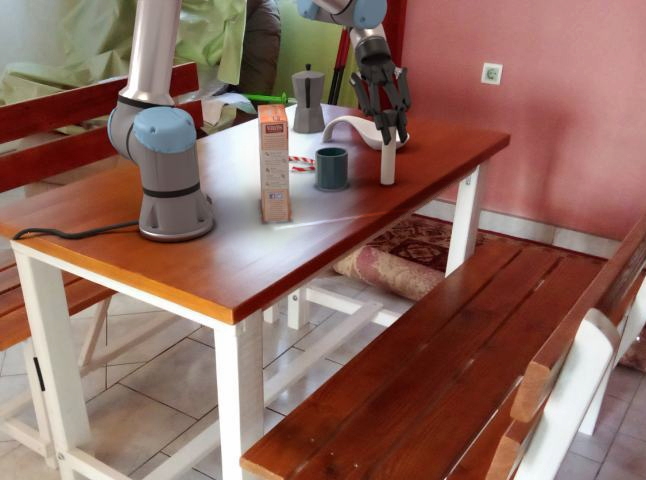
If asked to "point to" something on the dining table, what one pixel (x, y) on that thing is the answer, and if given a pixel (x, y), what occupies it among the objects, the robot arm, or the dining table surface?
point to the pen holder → (331, 168)
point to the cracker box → (274, 162)
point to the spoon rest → (361, 131)
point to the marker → (389, 149)
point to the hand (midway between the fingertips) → (396, 140)
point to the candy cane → (293, 158)
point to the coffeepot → (308, 101)
